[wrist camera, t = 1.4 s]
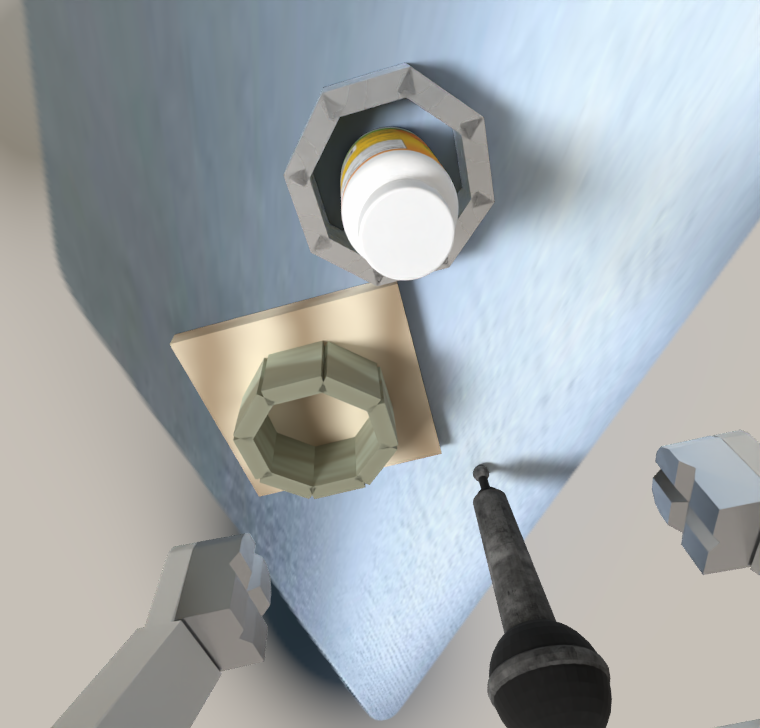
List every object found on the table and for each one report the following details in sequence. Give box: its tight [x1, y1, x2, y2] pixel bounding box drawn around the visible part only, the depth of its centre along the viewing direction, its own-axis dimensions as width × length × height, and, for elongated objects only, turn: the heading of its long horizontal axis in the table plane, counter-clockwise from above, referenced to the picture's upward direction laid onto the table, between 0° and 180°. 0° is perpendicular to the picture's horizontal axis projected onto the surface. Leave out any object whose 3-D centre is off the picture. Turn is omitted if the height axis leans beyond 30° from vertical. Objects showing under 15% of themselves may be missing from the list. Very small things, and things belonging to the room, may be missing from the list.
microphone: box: [473, 466, 612, 728], centre depth 34 cm, size 7×7×20 cm
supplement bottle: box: [340, 127, 458, 280], centre depth 25 cm, size 5×5×10 cm
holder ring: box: [284, 63, 495, 286], centre depth 28 cm, size 10×10×2 cm
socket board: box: [170, 281, 442, 499], centre depth 35 cm, size 15×15×5 cm
